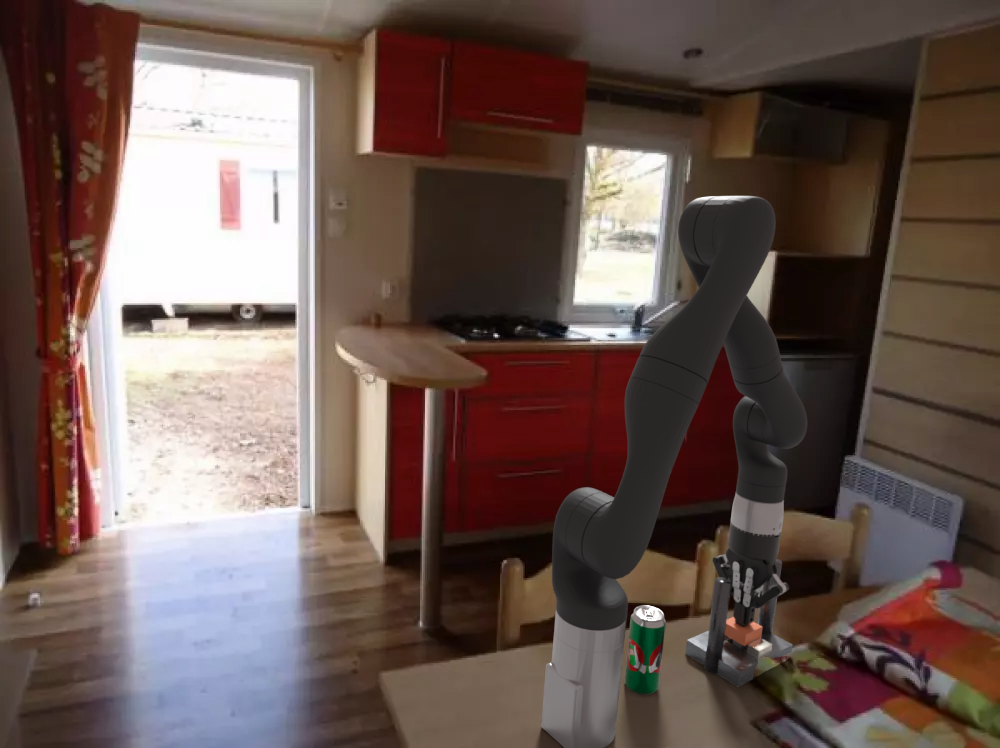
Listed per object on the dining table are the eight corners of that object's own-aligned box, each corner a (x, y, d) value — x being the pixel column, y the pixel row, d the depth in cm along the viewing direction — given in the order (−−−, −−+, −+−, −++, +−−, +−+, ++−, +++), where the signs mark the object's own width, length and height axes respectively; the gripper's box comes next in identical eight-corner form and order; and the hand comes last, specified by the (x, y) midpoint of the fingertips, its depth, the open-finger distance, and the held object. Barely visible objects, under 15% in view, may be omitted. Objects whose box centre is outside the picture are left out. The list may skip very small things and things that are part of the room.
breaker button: (742, 660, 112) (746, 634, 111) (719, 646, 115) (722, 621, 115) (759, 652, 115) (762, 626, 114) (735, 638, 118) (739, 614, 117)
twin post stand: (734, 689, 107) (746, 597, 104) (681, 655, 115) (691, 569, 112) (793, 656, 116) (806, 571, 113) (741, 628, 124) (752, 547, 121)
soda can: (656, 677, 108) (664, 605, 106) (660, 698, 104) (668, 623, 101) (623, 674, 109) (630, 602, 107) (625, 695, 104) (633, 620, 102)
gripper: (706, 512, 114) (694, 611, 117) (780, 543, 103) (765, 651, 107) (734, 504, 118) (722, 599, 122) (808, 533, 108) (793, 636, 111)
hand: (742, 623), depth 114 cm, fingers closed
